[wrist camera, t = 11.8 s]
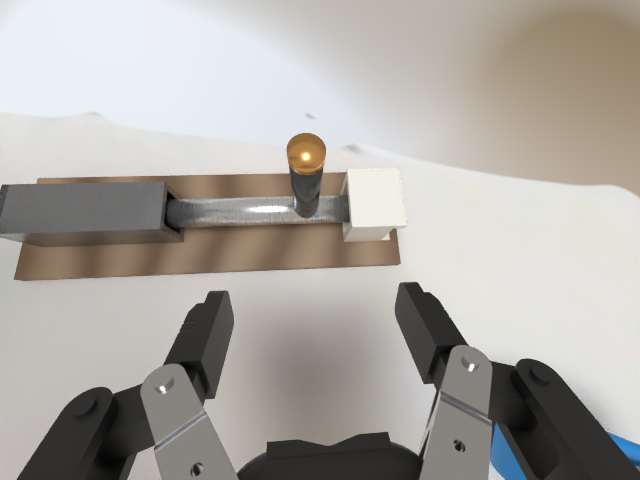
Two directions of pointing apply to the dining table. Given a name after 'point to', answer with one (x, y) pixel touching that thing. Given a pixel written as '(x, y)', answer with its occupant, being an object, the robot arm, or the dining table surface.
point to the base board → (213, 238)
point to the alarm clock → (511, 469)
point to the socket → (373, 204)
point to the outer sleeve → (87, 214)
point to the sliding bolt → (295, 209)
